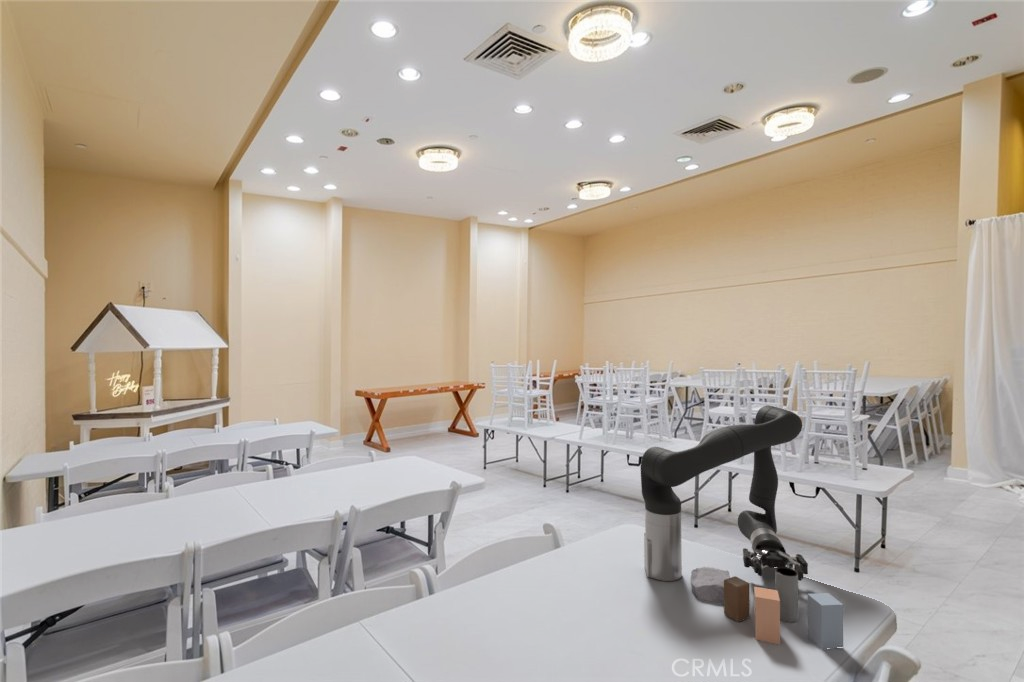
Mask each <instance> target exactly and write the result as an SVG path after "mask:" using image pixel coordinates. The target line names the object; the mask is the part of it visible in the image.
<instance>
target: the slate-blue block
mask: <svg viewBox="0 0 1024 682" xmlns="http://www.w3.org/2000/svg"><path fill="white" fill-rule="evenodd" d="M806 596H807V599H806V600H807V604H806V605H807V637H808V638H809V639H810V640H811V641H812V642H813V643H814V644H815V645H816V646H817V647H818V648H820V650H822V649H824V650H828V649H827V648H837V647H843V648H844V603H842V602H841V601H839V600H838V599H837V598H835V597H834V596H833V595H831V594H830V593H829V592H822V593H821V592H820V593H807V595H806Z"/></svg>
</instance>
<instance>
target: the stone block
mask: <svg viewBox="0 0 1024 682" xmlns="http://www.w3.org/2000/svg"><path fill="white" fill-rule="evenodd" d="M690 572H691V573H690V574H691V576H690V585H691V588H692V589H691V590H692V592H693V594H695V596H697V598H698V599H700V600H702V601H707V602H720V603H721V602H722V603H724V580H725V579H728V578H731V576H730V571H729V570H728V569H725V570H724V569H720V568H715V567H709V566H707V567H706V566H703V567H697V568H695V569H692V570H691V571H690Z"/></svg>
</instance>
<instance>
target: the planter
mask: <svg viewBox="0 0 1024 682" xmlns="http://www.w3.org/2000/svg"><path fill="white" fill-rule="evenodd" d="M774 588H775V589H774V590H778V595H779V599H780V621H781V620H782V621H785V622H787V623H788V622H789V623H794V622H795V623H796V622H797V621H799V580H798V573H797V571H795V570H793V569H791V568H787V566H786V567H775V568H774Z"/></svg>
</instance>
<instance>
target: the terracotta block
mask: <svg viewBox="0 0 1024 682" xmlns="http://www.w3.org/2000/svg"><path fill="white" fill-rule="evenodd" d="M753 591H754V593H753V595H754V597H753V601H754V602H753V604H754V606H753V608H754V610H753V611H754V612H753V613H754V615H753V617H754V620H753V621H754V635H755V640H756V641H762V642H767V643H771V644H777V645H781V619H780V599H779V595H778V590H775V589H771V588H765V587H759V586H758V587H757V586H754V587H753Z"/></svg>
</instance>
